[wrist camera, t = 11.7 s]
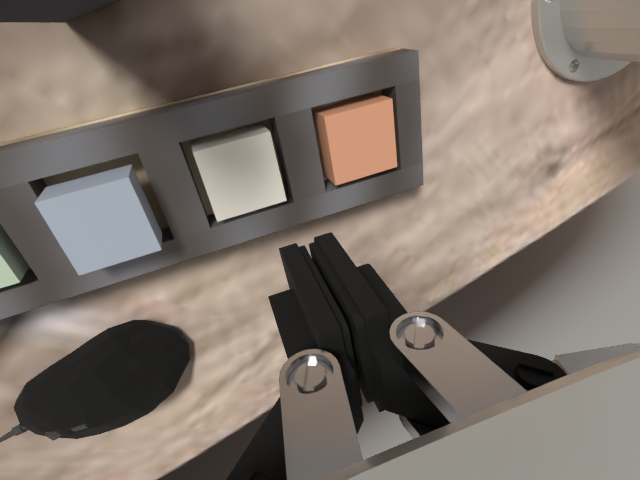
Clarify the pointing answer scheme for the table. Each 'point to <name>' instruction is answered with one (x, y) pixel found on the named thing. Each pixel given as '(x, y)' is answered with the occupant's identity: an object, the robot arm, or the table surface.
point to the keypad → (183, 174)
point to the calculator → (48, 9)
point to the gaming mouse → (104, 382)
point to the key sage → (10, 261)
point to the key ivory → (239, 171)
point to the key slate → (101, 219)
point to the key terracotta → (356, 138)
